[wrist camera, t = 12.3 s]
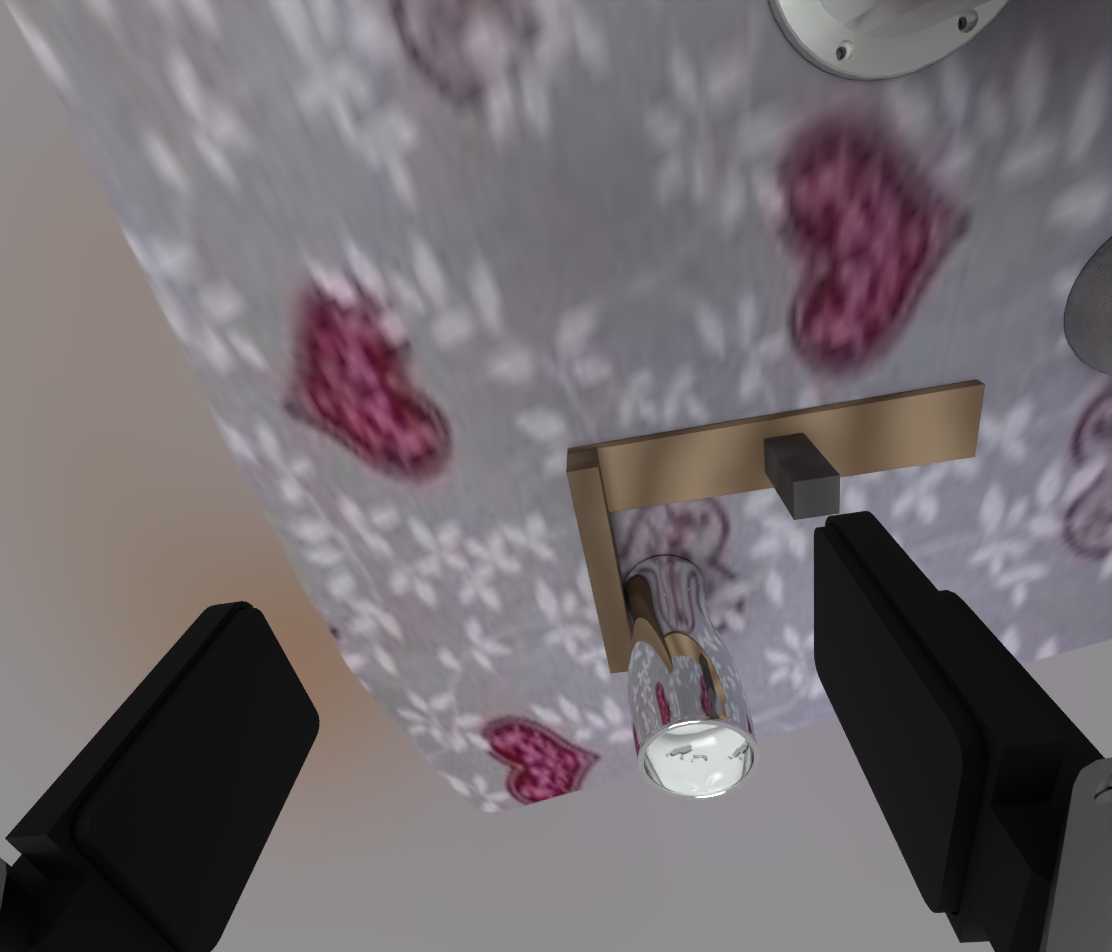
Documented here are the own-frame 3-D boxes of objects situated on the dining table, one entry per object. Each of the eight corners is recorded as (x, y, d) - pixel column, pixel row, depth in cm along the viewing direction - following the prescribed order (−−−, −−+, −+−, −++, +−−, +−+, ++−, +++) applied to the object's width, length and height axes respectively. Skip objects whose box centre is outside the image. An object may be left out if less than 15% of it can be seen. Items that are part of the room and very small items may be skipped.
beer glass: (719, 609, 45) (776, 790, 32) (633, 630, 46) (654, 812, 33) (696, 538, 42) (749, 705, 29) (606, 564, 44) (616, 734, 30)
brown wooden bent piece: (976, 379, 36) (1056, 421, 30) (948, 598, 44) (1006, 665, 38) (567, 449, 39) (565, 498, 33) (608, 640, 47) (612, 708, 41)
